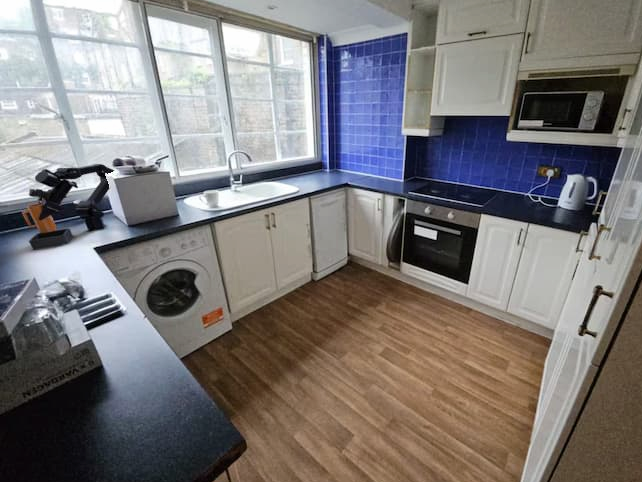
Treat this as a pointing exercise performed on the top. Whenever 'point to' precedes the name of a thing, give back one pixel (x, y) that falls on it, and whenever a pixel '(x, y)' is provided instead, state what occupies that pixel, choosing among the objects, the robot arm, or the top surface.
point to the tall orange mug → (42, 225)
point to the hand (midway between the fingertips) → (38, 218)
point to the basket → (51, 239)
